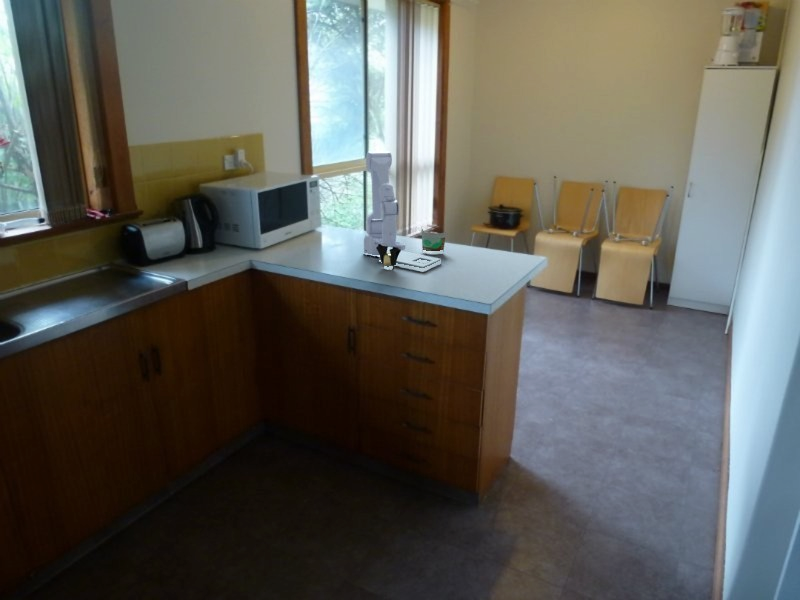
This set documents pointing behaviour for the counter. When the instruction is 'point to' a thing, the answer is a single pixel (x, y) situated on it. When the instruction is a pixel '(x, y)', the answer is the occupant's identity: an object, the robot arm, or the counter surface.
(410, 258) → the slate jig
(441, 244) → the food container
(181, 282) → the counter surface
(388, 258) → the gold metal cylinder
